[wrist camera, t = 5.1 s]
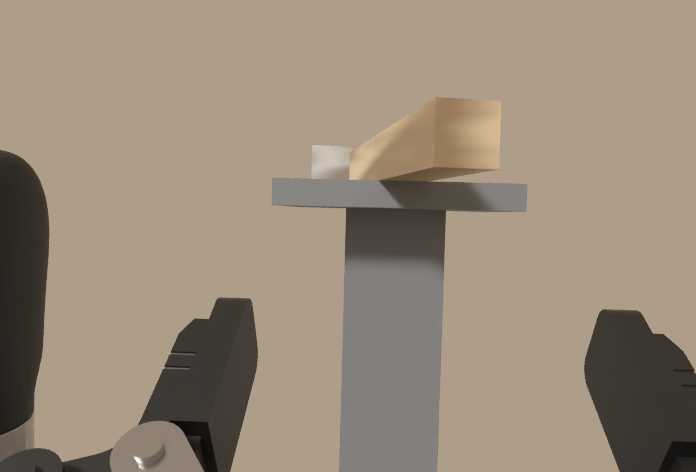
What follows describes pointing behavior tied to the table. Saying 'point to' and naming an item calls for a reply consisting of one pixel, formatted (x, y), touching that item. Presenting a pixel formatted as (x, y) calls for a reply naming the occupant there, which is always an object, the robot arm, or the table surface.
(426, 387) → the stand
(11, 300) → the robot arm
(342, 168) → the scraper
